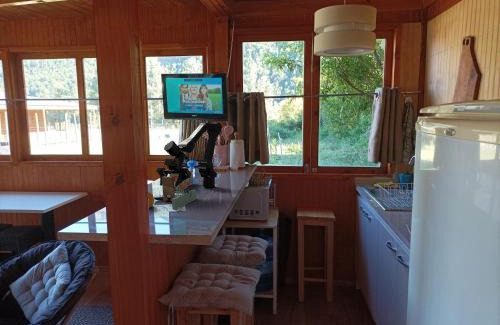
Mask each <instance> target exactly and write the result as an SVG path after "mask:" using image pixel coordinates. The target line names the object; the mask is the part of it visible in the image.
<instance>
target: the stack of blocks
mask: <svg viewBox="0 0 500 325" xmlns="http://www.w3.org/2000/svg"><path fill="white" fill-rule="evenodd" d="M183 168H188V167H187V166H185V167H183ZM188 170H189V171H190V172H191V177H190V178H188V179H186V180H184V181H183V182H181V183H180V184H179V185H178V186H177V187H176V186H175V184H176V181H177V179H178V176H179V174H168V175H169V176H168V177H174V188H175V192H178V191H180V192H182V191H184V190H185V189H187V188H189V187H190V186H191V185H193V184H194V178H193V177H194V176H193V175H194V174H193V169H188Z"/></svg>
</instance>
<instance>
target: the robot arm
mask: <svg viewBox="0 0 500 325" xmlns="http://www.w3.org/2000/svg"><path fill="white" fill-rule="evenodd" d="M222 129H223V126H222V124H221V122H219V121H217V122H200V123H199V124H198V126H197V128H196V129H194V131H193V132H191V134H190V136H188V138H186V139H184V140H182V141H181V142H180V143H179V144H177V143H176V141H175V140H170V142H167V143H166V144H165V145H164V147H163V150H164V151H165V152H166V153H167V154H168V155H169V156H170V157H173V158H164V163H163V166H166V167H167V168H165V167H163V166H161V167H160V166H159V167H157V168H156V170H155V172H156V173H157V174H158V175H159V186H160V187H162V177H164V176H165V177H169V176H168V175H169V174H179V176H178V179H177V181H176V184H175V186H176V187H177V186H178V185H179V184H180V183H181V182H183V181H184V180H186V179H188V178H190V177H191V172H190V171H189V170H190V169H189V168H188V167H187V168H183V167H184V163H185V161H187V160H189V156H188V154H190V153H192V152H193V151H194V149H195V148H196V144H197V142H198V141H199V140H200V139H201V137H202V136H203V135H204V134H205V133H207V136H208V138H207V143H206V148H205V153H204V157H203V160H202V161H200V162H199V164H198V167H197V168H198V173H199V175H200V178H203V179H202V187H203V188H204V190H206V189H214V188H217V187H216V181H215V180H216V179H215V178H217V176H218V173H217V172H216V171H215V170H214V167H215V166H214V162H213V159H214V155H215V148H216V143H217V139H218V137H219V136H220V135H221V132H222Z"/></svg>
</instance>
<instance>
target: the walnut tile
mask: <svg viewBox="0 0 500 325" xmlns="http://www.w3.org/2000/svg"><path fill="white" fill-rule="evenodd" d="M161 187H162V199H163V201H164V202H166V201H168V200H169V197H168V196H170V202H172V199H173V198H175V197H176V191H175V188H174V177H169V176H167V177H165V176H164V177H162V186H161Z"/></svg>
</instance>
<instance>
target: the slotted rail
mask: <svg viewBox="0 0 500 325" xmlns="http://www.w3.org/2000/svg"><path fill="white" fill-rule="evenodd" d="M195 200H197V191H196V189H192V190H190V191H189V190H188V192H185V193H182V194H180V195H177V196H175V198H173V199H172V201H171V207H172V210H177V209H180V208H181V207H183V206H185V205H187V204H190V203H192V202H194V201H195Z"/></svg>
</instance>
